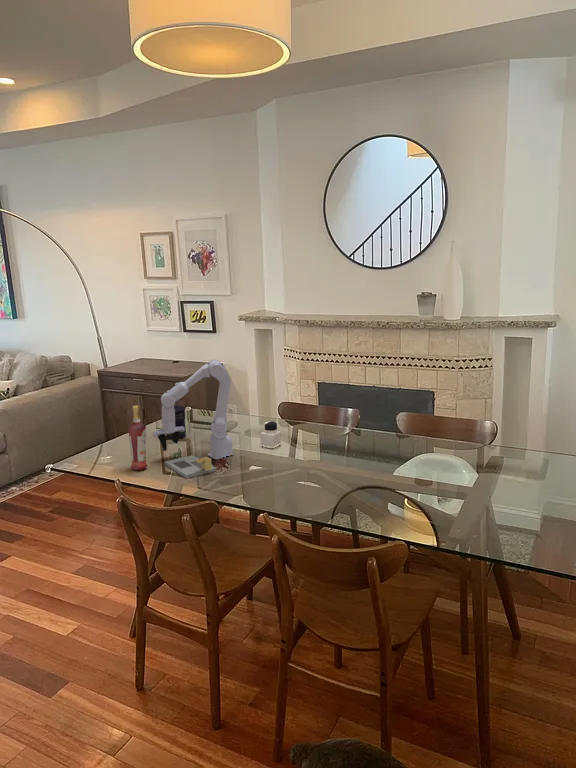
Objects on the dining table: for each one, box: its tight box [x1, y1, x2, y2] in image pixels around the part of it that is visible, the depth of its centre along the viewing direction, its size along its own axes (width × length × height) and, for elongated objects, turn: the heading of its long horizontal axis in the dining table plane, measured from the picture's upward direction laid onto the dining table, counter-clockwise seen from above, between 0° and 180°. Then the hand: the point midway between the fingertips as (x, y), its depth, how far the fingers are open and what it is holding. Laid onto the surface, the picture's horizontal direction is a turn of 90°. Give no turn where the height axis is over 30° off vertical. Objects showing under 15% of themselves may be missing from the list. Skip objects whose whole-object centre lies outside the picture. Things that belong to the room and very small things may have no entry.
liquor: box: [127, 404, 148, 471], centre depth 252 cm, size 7×7×28 cm
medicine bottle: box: [260, 420, 282, 447], centre depth 283 cm, size 7×7×12 cm
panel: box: [164, 454, 217, 479], centre depth 256 cm, size 14×20×2 cm
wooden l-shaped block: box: [196, 456, 213, 471], centre depth 249 cm, size 6×4×5 cm, turn 127°
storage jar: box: [165, 405, 187, 441], centre depth 297 cm, size 10×10×15 cm
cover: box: [161, 439, 179, 455], centre depth 265 cm, size 4×7×4 cm, turn 37°
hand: (169, 449), depth 265 cm, fingers closed on cover, 4 cm apart
